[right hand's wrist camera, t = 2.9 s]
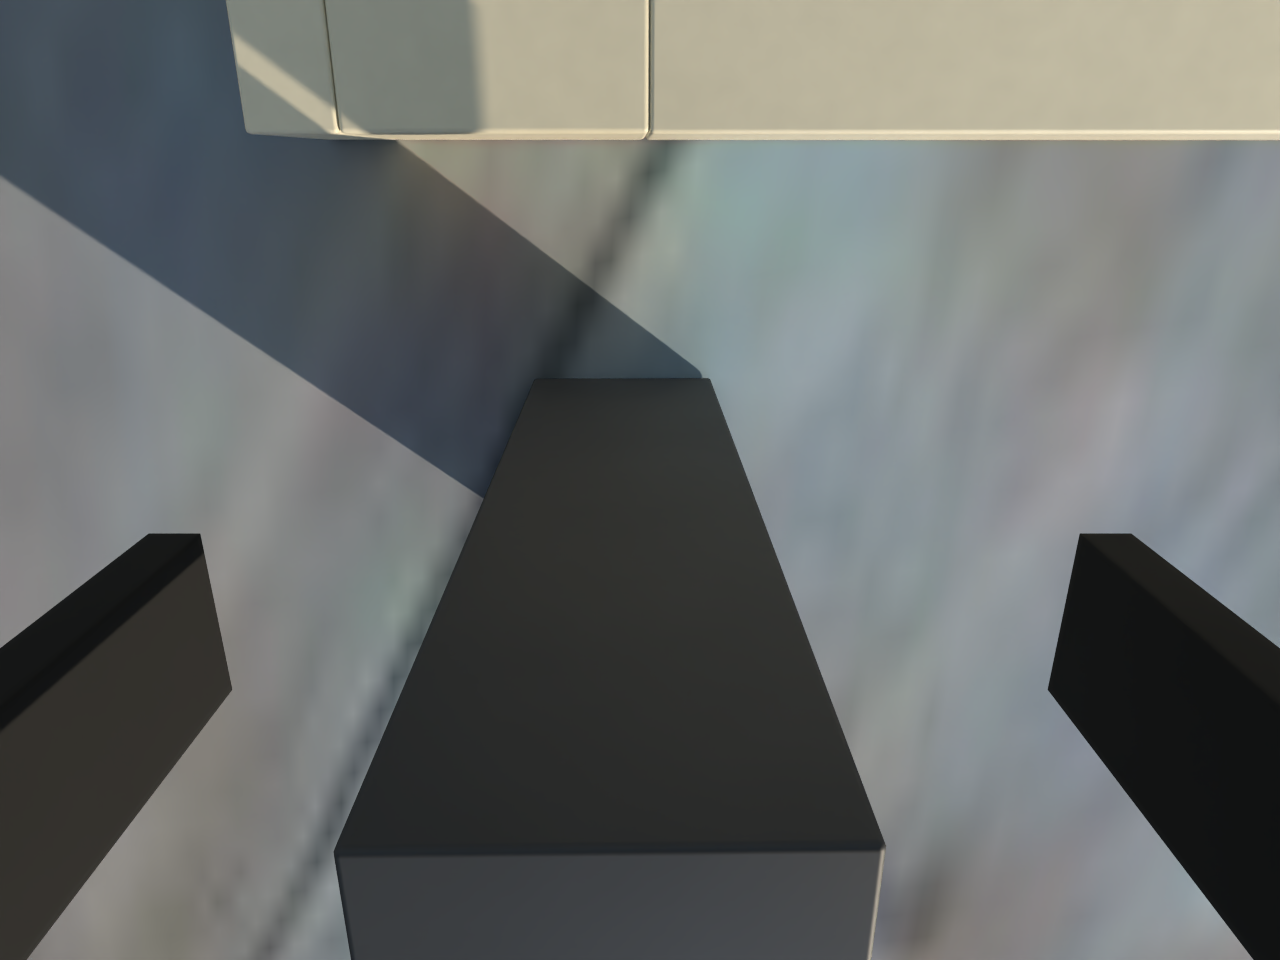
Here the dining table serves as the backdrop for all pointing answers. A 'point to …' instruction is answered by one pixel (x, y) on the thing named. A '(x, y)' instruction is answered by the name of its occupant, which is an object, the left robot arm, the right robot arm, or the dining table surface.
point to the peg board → (759, 69)
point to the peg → (614, 718)
